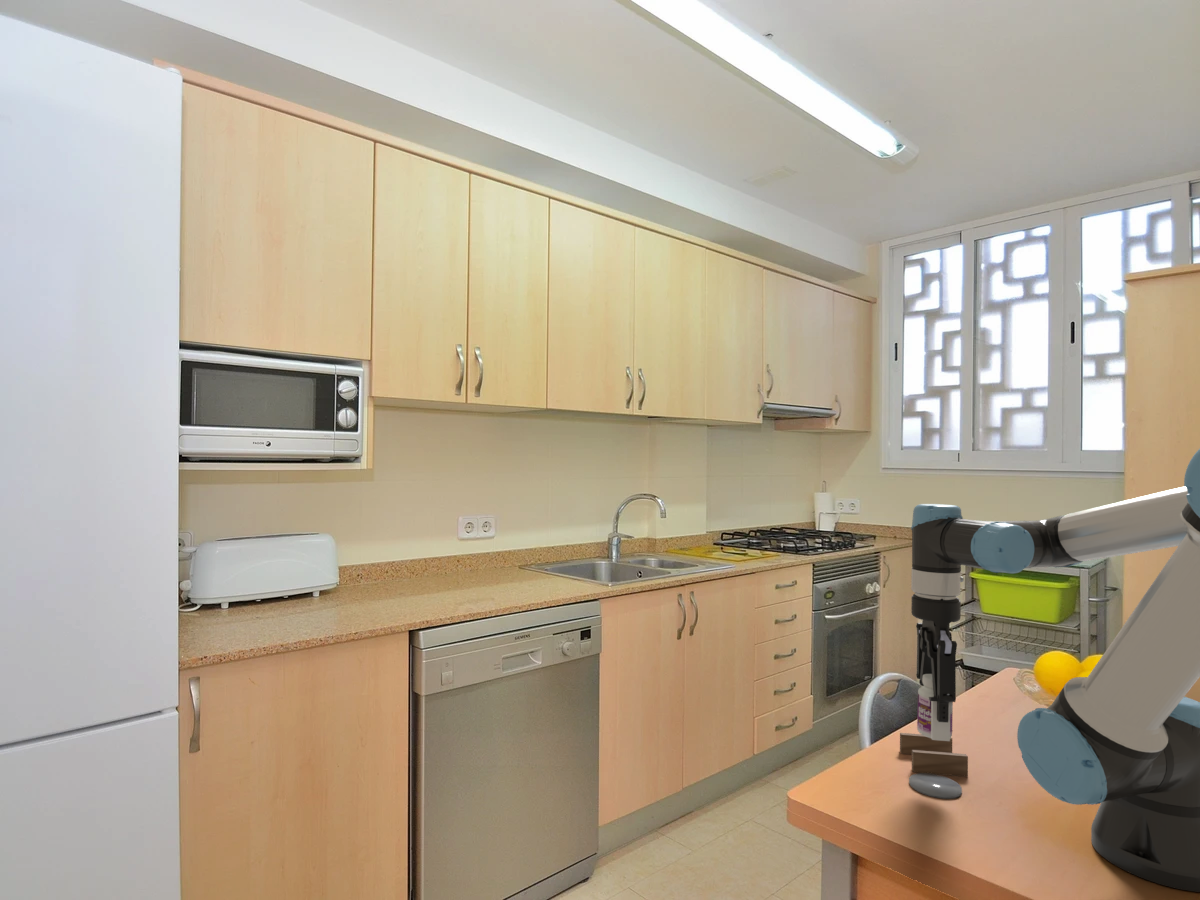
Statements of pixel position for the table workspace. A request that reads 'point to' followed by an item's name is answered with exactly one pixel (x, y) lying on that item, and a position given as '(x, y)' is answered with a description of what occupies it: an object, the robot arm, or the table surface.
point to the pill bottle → (927, 707)
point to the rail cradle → (933, 755)
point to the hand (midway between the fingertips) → (934, 732)
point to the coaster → (935, 785)
